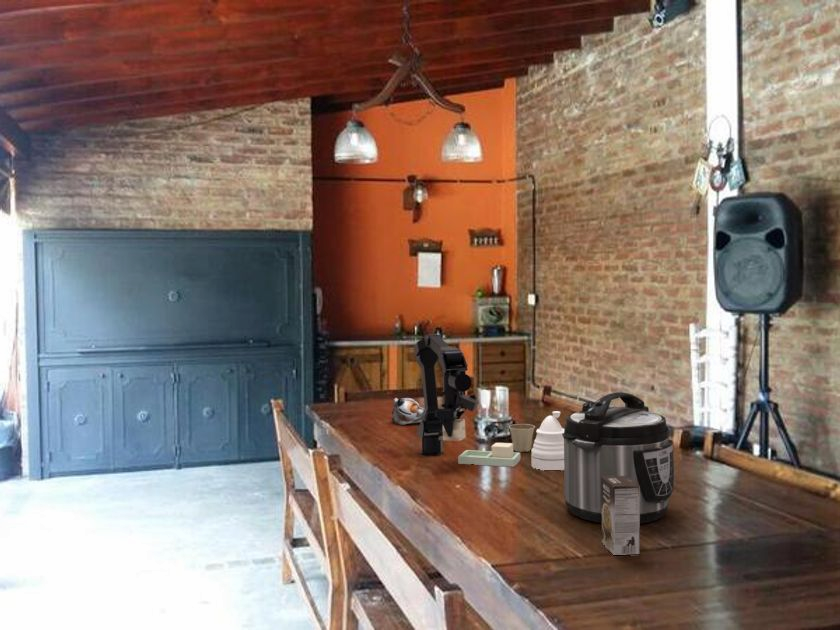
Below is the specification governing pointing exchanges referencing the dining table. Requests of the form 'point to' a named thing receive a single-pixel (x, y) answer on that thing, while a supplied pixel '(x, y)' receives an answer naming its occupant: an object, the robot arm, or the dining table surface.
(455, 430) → the maple cube
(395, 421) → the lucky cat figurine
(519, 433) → the flower pot
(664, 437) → the pressure cooker
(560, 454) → the honey pot
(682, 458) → the dining table surface
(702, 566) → the dining table surface
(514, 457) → the tray
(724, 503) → the dining table surface
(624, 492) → the coffee box
